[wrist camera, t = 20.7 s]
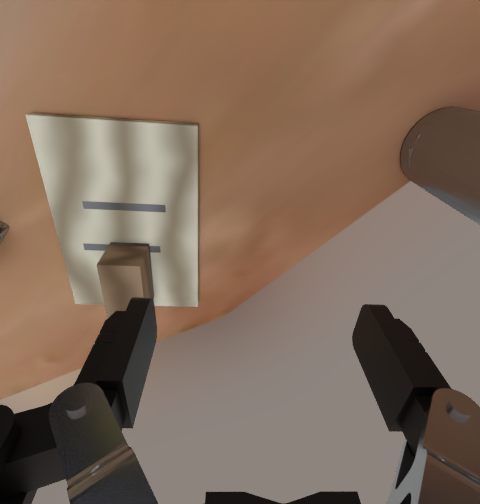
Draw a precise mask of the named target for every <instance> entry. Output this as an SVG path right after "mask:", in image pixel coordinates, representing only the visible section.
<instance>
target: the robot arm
mask: <svg viewBox="0 0 480 504" xmlns="http://www.w3.org/2000/svg"><path fill="white" fill-rule="evenodd" d="M400 163H401V167H402V170H403V172H404V174H405V176H406V177H407V178H408V179H409V180H411V181H412V182H414V183H415V184H417V185H418V186H420V187H422V188H423V189H425V190H426V191H428V192H429V193H431V194H432V195H434V196H435V197H437V198H438V199H440V200H441V201H443V202H445V203H446V204H448V205H449V206H451V207H452V208H454V209H456V210H457V211H459V212H461V213H462V214H464V215H465V216H467V217H468V218H470V219H471V220H473V221H474V222H476V223H478V224H479V225H480V112H478V111H473V110H468V109H463V108H456V107H448V108H442V109H439V110H436V111H434V112H432V113H430V114H428V115H427V116H425V117H424V118H423V119H421V120H420V121H419V122H418V123H417V124H416V125H415V126H414V127H413V128H412V129H411V131H410V132H409V134H408V136H407V137H406V139H405V141H404V144H403V146H402V150H401V154H400ZM156 337H157V325H156V316H155V307H154V300H153V298H145V297H132V298H131V299H130V302H129V304H128V306H127V309H126V311H115V312H114V313H113V314H112V315H111V316H110V317H109V318H108V319H107V320H106V321H105V323H104V325H103V327H102V329H101V331H100V335H98V337H97V339H96V341H95V345H93V347H92V349H91V351H90V353H89V355H88V358H87V360H86V362H85V364H84V366H83V368H82V370H81V372H80V374H79V376H78V378H77V380H76V382H75V384H74V385H73V386H71V387H69V388H68V389H66V390H64V391H63V392H62V393H61V394H59V395H58V396H57V397H56V399H55V400H54V401H53V403H50V404H48V405H45V406H42V407H38V408H35V409H31V410H27V411H24V412H20V413H16V414H14V413H13V411H12V410H11V409H10V408H9V407H7V406H4V405H0V504H31V503H32V501H33V498H34V496H35V493H36V491H37V489H38V488H40V487H43V486H46V485H49V484H52V483H55V482H58V481H61V480H64V479H66V481H67V485H68V488H67V492H68V497H69V501H70V504H158V502H157V500H156V498H155V496H154V493H153V491H152V489H151V487H150V485H149V483H148V481H147V479H146V476H145V474H144V472H143V470H142V468H141V466H140V464H139V462H138V460H137V458H136V455H135V453H134V452H133V450H132V449H131V447H129V446H128V444H127V442H126V440H125V438H124V436H123V434H122V428H133V425H134V421H135V417H136V414H137V410H138V406H139V402H140V398H141V395H142V391H143V387H144V384H145V380H146V376H147V372H148V369H149V366H150V362H151V358H152V354H153V351H154V347H155V343H156ZM352 340H353V347H354V350H355V352H356V355H357V357H358V359H359V362H360V364H361V366H362V369H363V371H364V373H365V376H366V378H367V380H368V383H369V385H370V387H371V390H372V392H373V394H374V397H375V399H376V401H377V404H378V406H379V408H380V411H381V413H382V415H383V418H384V420H385V422H386V425H387V427H388V429H389V431H403V433H404V436H405V438H406V439H405V441H404V443H403V446H402V450H401V454H400V457H399V462H398V465H397V469H396V473H395V477H394V481H393V485H392V488H391V492H390V495H389V498H388V501H387V503H386V504H480V407H479V406H478V405H477V404H476V403H475V402H474V401H473V400H472V399H471V398H469V397H468V396H466V395H465V394H463V393H461V392H459V391H456V390H453V389H451V388H450V386H449V385H448V383H447V382H446V380H445V379H444V377H443V376H442V374H441V373H440V371H439V370H438V368H437V367H436V365H435V364H434V362H433V361H432V359H431V358H430V356H429V355H428V353H426V352H425V349H424V347H423V346H422V344H421V343H419V340H418V339H417V337H416V336H415V334H414V333H413V331H412V330H411V328H409V327H408V326H407V325H406V324H405V323H403V322H402V321H401V320H400V319H394V317H393V316H392V314H391V312H390V311H389V309H388V308H387V307H386V306H385V305H368V304H365V305H363V306H362V308H361V311H360V314H359V317H358V320H357V323H356V326H355V328H354V331H353V336H352ZM205 504H281V503H278V502H275V501H271V500H268V499H265V498H262V497H259V496H255V495H252V494H249V493H246V492H206V500H205ZM286 504H361V503H360V499H359V496H358V493H357V492H319V493H316V494H313V495H310V496H307V497H304V498H301V499H298V500H296V501H292V502H290V503H286Z"/></svg>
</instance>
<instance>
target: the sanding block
mask: <svg viewBox="0 0 480 504" xmlns="http://www.w3.org/2000/svg"><path fill="white" fill-rule="evenodd" d="M97 270H98V275H99V280H100V285H101V290H102V295H103V300H104V305H105V310H106V315H107V319H108V318H109V317H110V316H111V315H112V314H113V313H114V312H115V311H126V309H127V306H128V304H129V302H130V299H131V298H132V297H145V298H153V299H154V288H153V278H152V267H151V256H150V245H149V244H146V243H121V242H110V244H109V246H108V247H107V249H106V250H105V252H104V254H103V255H102V257H101V258H100V260H99V262H98V263H97Z"/></svg>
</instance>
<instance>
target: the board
mask: <svg viewBox="0 0 480 504" xmlns="http://www.w3.org/2000/svg"><path fill="white" fill-rule="evenodd" d="M26 119H27V123H28V126H29V130H30V134H31V138H32V141H33V145H34V149H35V153H36V156H37V160H38V164H39V168H40V171H41V175H42V179H43V183H44V186H45V190H46V194H47V198H48V201H49V205H50V209H51V213H52V216H53V220H54V224H55V228H56V231H57V235H58V239H59V243H60V246H61V250H62V254H63V258H64V261H65V265H66V269H67V273H68V276H69V280H70V284H71V288H72V292H73V295H74V299H75V303H76V304H99V305H104V300H103V295H102V290H101V285H100V280H99V275H98V270H97V263H98V262H99V260H100V258H101V257H102V255H103V254H104V252H105V250H106V249H107V247H108V246H109V244H110V242H121V243H146V244H149V245H150V256H151V267H152V278H153V288H154V299H153V300H154V306H184V307H198V301H199V124H197V123H182V122H167V121H152V120H137V119H121V118H106V117H91V116H76V115H61V114H46V113H30V114H26Z"/></svg>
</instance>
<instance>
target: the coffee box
mask: <svg viewBox="0 0 480 504" xmlns="http://www.w3.org/2000/svg"><path fill="white" fill-rule="evenodd" d="M8 229H9V227H8V226H7V225H6V224H4V223H2V222H0V243H1V241H2V239H3V238H4V236H5V234H6V232H7V231H8Z"/></svg>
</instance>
